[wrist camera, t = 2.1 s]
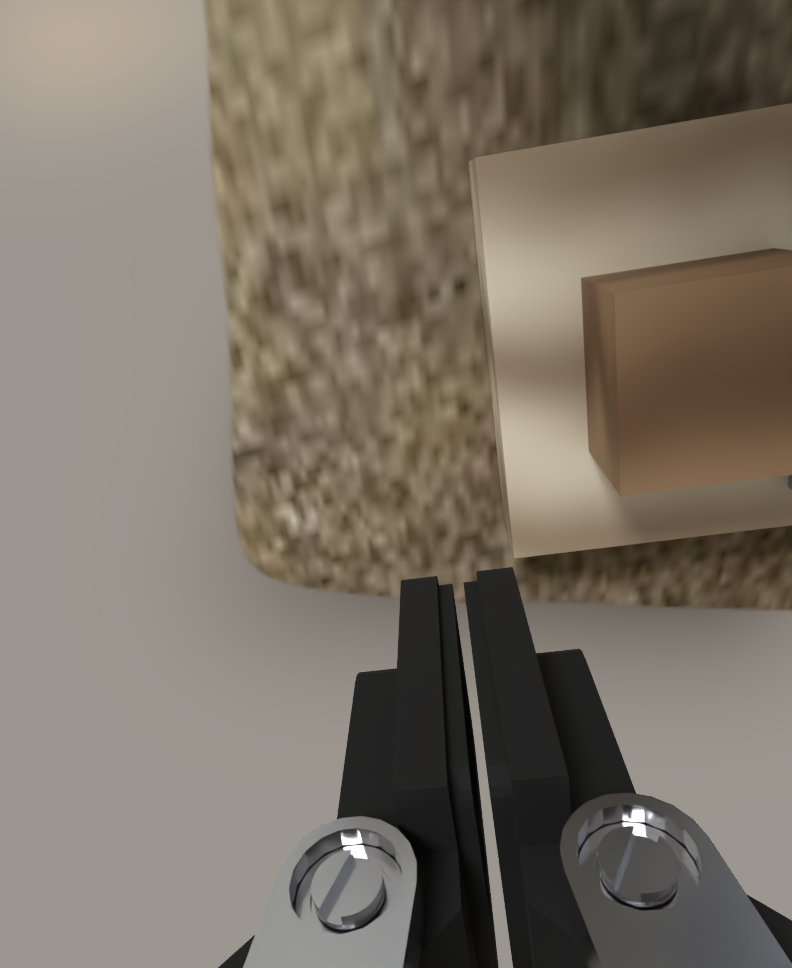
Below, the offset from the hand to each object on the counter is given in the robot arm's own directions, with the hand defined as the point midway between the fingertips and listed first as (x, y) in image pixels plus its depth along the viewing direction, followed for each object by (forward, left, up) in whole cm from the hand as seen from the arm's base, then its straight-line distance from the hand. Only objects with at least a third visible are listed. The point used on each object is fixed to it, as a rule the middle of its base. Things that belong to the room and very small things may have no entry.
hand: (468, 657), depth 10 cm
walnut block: (0, +8, -14) cm, 16 cm away
